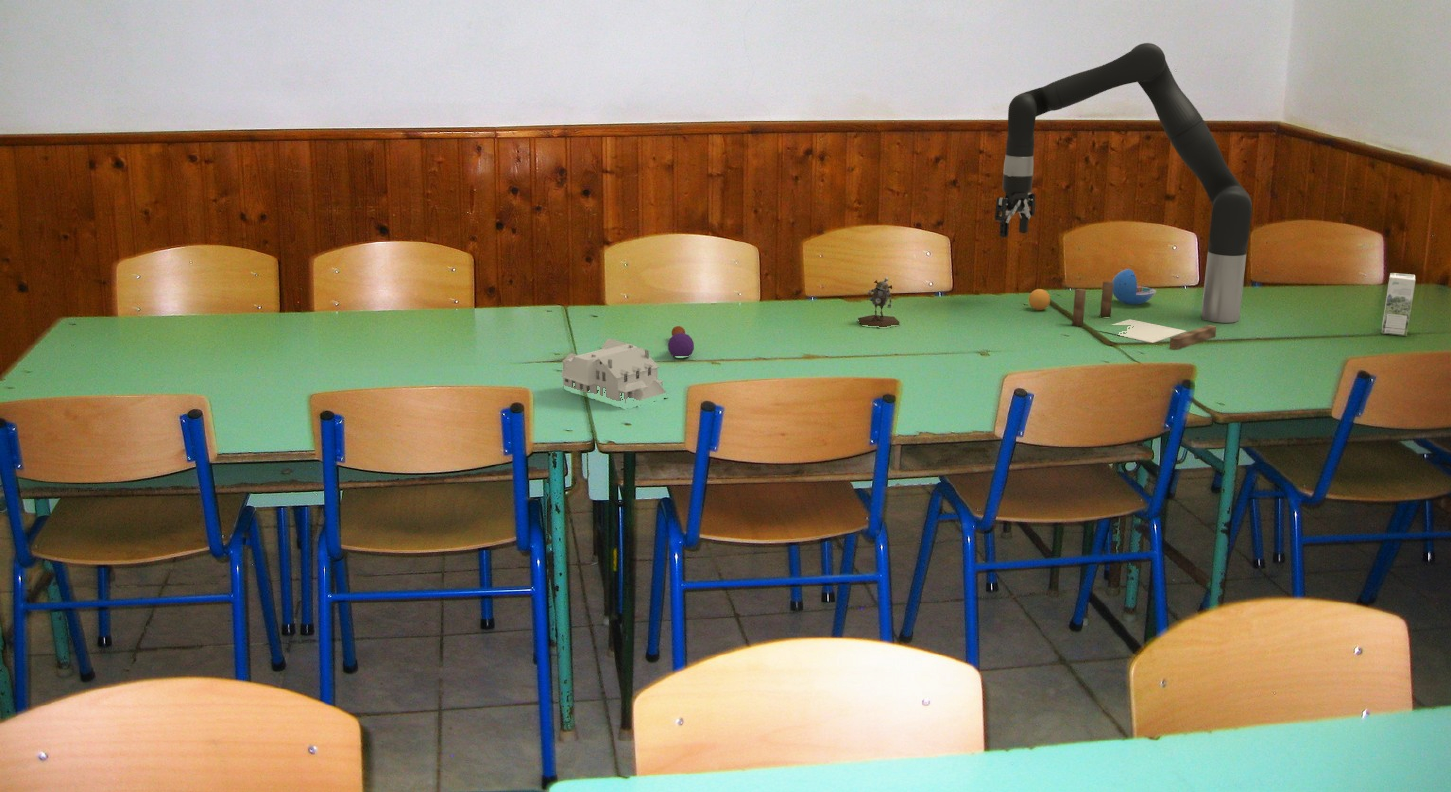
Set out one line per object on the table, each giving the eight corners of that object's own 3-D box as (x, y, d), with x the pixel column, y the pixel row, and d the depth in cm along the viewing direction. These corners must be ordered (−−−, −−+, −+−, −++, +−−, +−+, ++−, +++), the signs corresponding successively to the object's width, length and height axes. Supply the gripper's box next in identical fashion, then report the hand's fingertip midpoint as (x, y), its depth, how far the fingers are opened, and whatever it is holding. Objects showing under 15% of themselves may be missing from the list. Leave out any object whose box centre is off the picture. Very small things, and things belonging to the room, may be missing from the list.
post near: (1076, 323, 350) (1078, 288, 347) (1084, 325, 348) (1087, 290, 345) (1070, 324, 348) (1072, 289, 345) (1079, 326, 346) (1081, 291, 344)
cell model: (1161, 307, 366) (1165, 271, 363) (1119, 309, 364) (1122, 273, 361) (1144, 299, 376) (1147, 264, 373) (1102, 300, 374) (1105, 265, 371)
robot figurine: (851, 325, 347) (852, 278, 344) (862, 317, 355) (863, 271, 352) (894, 330, 343) (896, 282, 340) (904, 321, 351) (906, 275, 348)
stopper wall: (1207, 334, 339) (1208, 324, 339) (1215, 336, 338) (1216, 326, 337) (1169, 348, 328) (1170, 337, 327) (1177, 349, 326) (1178, 339, 325)
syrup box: (1406, 331, 343) (1415, 273, 339) (1406, 336, 338) (1415, 278, 334) (1381, 328, 346) (1389, 271, 341) (1381, 334, 340) (1389, 276, 336)
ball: (1035, 306, 367) (1037, 285, 365) (1053, 309, 363) (1055, 289, 362) (1023, 309, 363) (1025, 289, 362) (1041, 313, 360) (1042, 292, 358)
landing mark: (1129, 319, 353) (1129, 319, 353) (1187, 331, 342) (1187, 330, 342) (1094, 330, 343) (1094, 329, 343) (1152, 343, 332) (1152, 342, 332)
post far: (1103, 315, 358) (1106, 280, 355) (1112, 316, 356) (1115, 282, 354) (1098, 316, 356) (1101, 282, 354) (1106, 318, 355) (1109, 284, 352)
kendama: (692, 322, 334) (696, 337, 315) (688, 346, 335) (692, 363, 316) (668, 318, 333) (670, 333, 314) (663, 342, 335) (666, 358, 315)
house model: (619, 414, 279) (618, 367, 276) (555, 393, 292) (554, 348, 289) (686, 394, 292) (686, 349, 289) (622, 375, 305) (621, 332, 302)
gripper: (1022, 168, 366) (1017, 229, 371) (989, 173, 357) (985, 236, 362) (1046, 172, 361) (1041, 233, 366) (1013, 177, 352) (1009, 240, 356)
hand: (1013, 234), depth 364 cm, fingers open, 8 cm apart
